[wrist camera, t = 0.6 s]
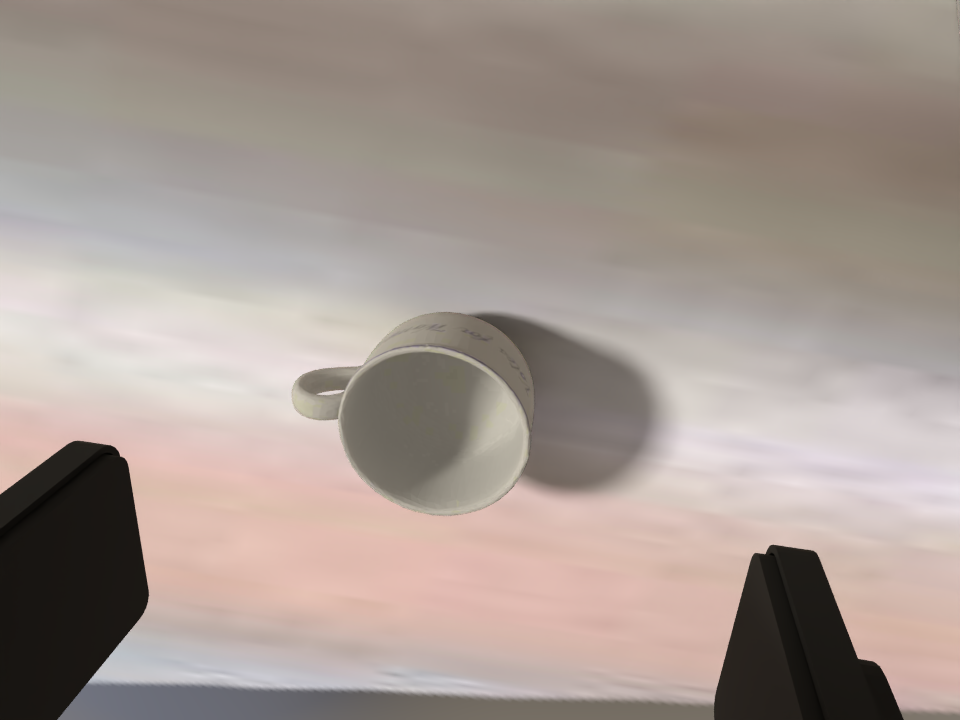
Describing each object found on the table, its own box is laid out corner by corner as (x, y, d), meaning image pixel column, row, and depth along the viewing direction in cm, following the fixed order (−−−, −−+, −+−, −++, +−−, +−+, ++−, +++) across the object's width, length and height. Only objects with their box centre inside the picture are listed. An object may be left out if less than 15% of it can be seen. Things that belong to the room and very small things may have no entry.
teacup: (568, 334, 45) (559, 391, 37) (509, 474, 49) (490, 549, 42) (354, 252, 45) (304, 293, 38) (315, 399, 49) (263, 460, 42)
